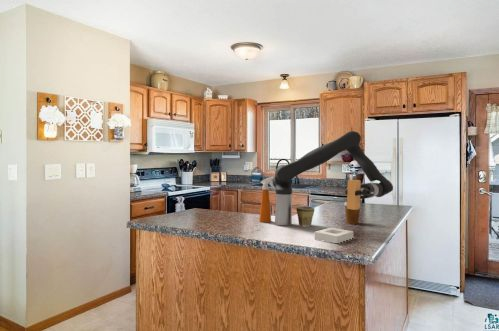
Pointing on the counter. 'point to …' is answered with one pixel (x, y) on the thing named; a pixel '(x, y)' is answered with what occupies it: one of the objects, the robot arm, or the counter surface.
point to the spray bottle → (265, 200)
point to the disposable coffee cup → (352, 215)
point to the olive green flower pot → (305, 215)
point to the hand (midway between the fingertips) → (350, 192)
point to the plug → (353, 194)
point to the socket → (334, 235)
